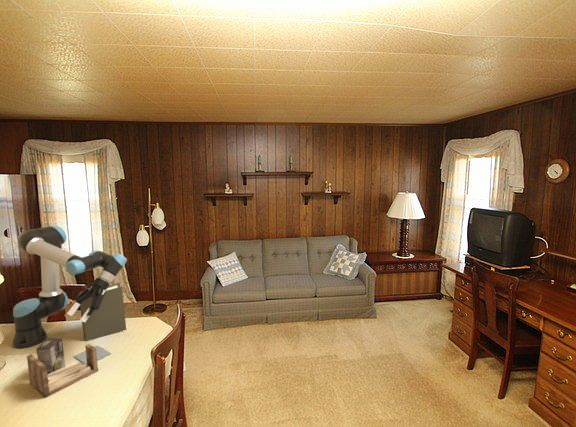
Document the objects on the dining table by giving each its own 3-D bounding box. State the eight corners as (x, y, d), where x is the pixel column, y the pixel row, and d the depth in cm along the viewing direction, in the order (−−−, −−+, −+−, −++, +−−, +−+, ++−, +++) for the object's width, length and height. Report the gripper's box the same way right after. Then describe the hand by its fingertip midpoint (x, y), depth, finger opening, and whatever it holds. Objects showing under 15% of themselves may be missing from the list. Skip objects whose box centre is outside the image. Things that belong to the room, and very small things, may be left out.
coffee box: (52, 368, 155) (49, 337, 153) (65, 367, 155) (62, 337, 153) (39, 380, 146) (35, 348, 144) (53, 379, 146) (50, 347, 144)
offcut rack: (30, 384, 143) (26, 356, 141) (82, 360, 161) (80, 334, 160) (45, 398, 135) (41, 367, 133) (98, 370, 153) (96, 344, 151)
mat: (73, 357, 164) (73, 355, 164) (97, 346, 174) (97, 345, 174) (87, 365, 157) (86, 364, 157) (111, 354, 167) (111, 353, 167)
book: (84, 342, 179) (79, 296, 175) (83, 335, 187) (78, 291, 183) (126, 330, 192) (121, 287, 188) (123, 324, 200) (119, 282, 195)
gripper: (122, 288, 164) (94, 327, 153) (97, 279, 177) (70, 315, 166) (111, 281, 158) (81, 321, 148) (86, 273, 172) (57, 309, 161)
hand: (75, 318), depth 157 cm, fingers open, 13 cm apart
